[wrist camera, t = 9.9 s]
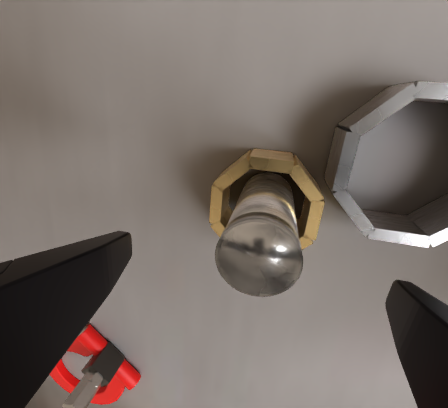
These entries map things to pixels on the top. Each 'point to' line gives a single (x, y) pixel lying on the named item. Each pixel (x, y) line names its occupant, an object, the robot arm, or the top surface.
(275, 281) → the round-tipped metal peg
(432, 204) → the wide steel socket
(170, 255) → the top surface
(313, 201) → the small brass socket
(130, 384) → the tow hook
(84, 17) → the top surface
